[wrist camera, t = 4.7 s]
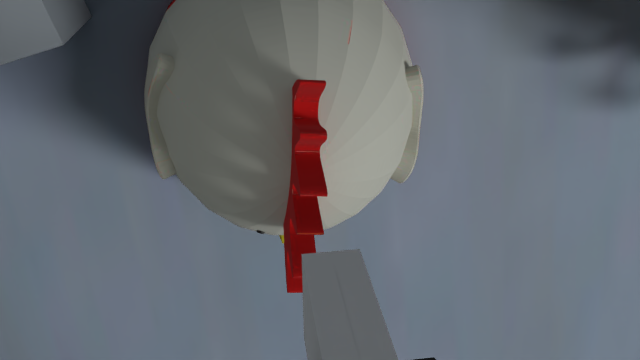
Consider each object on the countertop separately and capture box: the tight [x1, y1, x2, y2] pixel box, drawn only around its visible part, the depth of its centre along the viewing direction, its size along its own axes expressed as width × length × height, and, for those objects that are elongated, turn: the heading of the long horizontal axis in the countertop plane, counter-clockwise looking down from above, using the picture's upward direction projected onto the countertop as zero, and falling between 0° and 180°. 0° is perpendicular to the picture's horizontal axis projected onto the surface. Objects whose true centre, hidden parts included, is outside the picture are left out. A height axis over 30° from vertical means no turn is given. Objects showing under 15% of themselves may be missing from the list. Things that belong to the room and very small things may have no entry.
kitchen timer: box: [144, 0, 423, 293], centre depth 27 cm, size 14×14×15 cm
